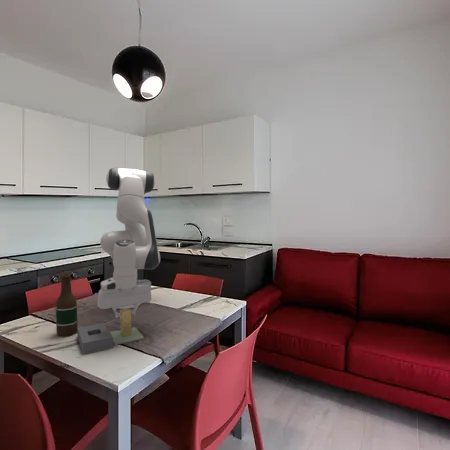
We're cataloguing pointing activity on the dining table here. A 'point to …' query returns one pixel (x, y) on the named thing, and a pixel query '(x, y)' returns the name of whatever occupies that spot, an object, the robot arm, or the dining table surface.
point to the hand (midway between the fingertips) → (125, 316)
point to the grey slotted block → (94, 338)
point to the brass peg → (125, 322)
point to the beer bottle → (66, 309)
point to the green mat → (119, 339)
